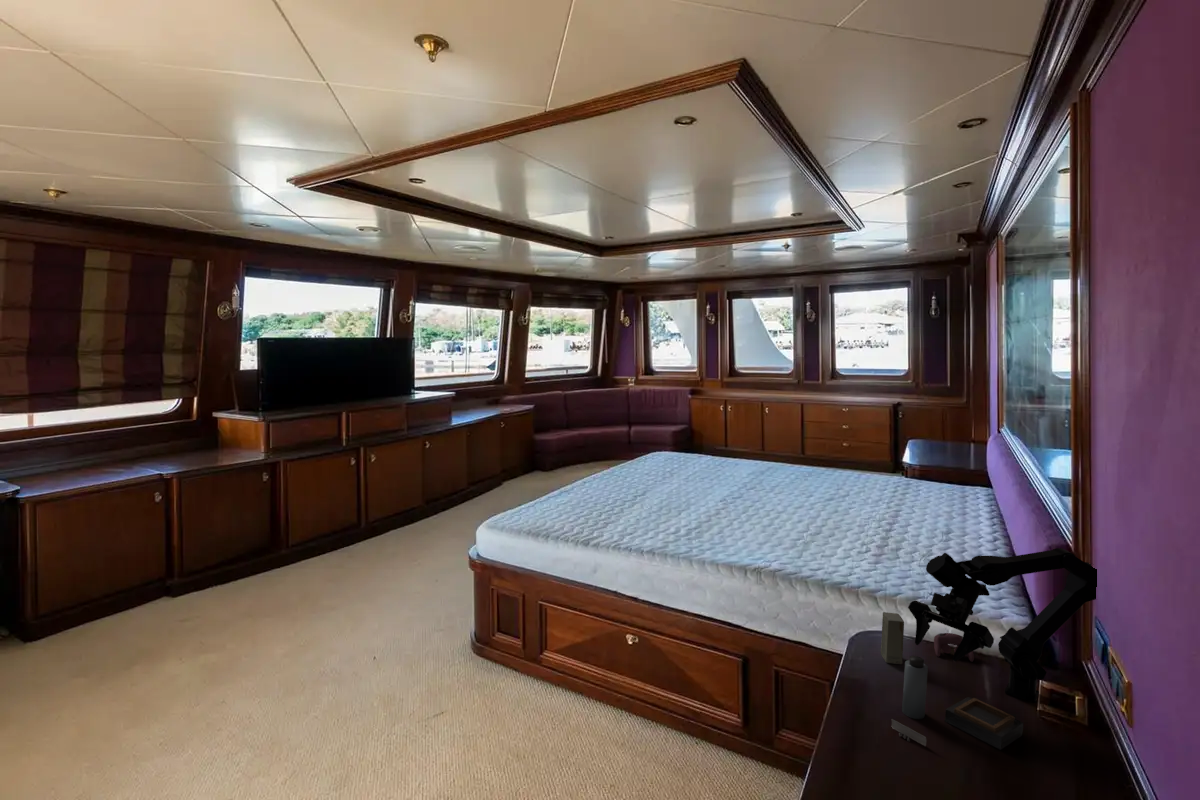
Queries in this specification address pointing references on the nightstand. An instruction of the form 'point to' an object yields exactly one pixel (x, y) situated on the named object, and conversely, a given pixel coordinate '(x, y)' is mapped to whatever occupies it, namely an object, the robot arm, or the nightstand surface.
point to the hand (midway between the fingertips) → (934, 652)
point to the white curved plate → (908, 732)
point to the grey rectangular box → (984, 722)
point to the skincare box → (892, 638)
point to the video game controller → (948, 638)
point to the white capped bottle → (914, 688)
